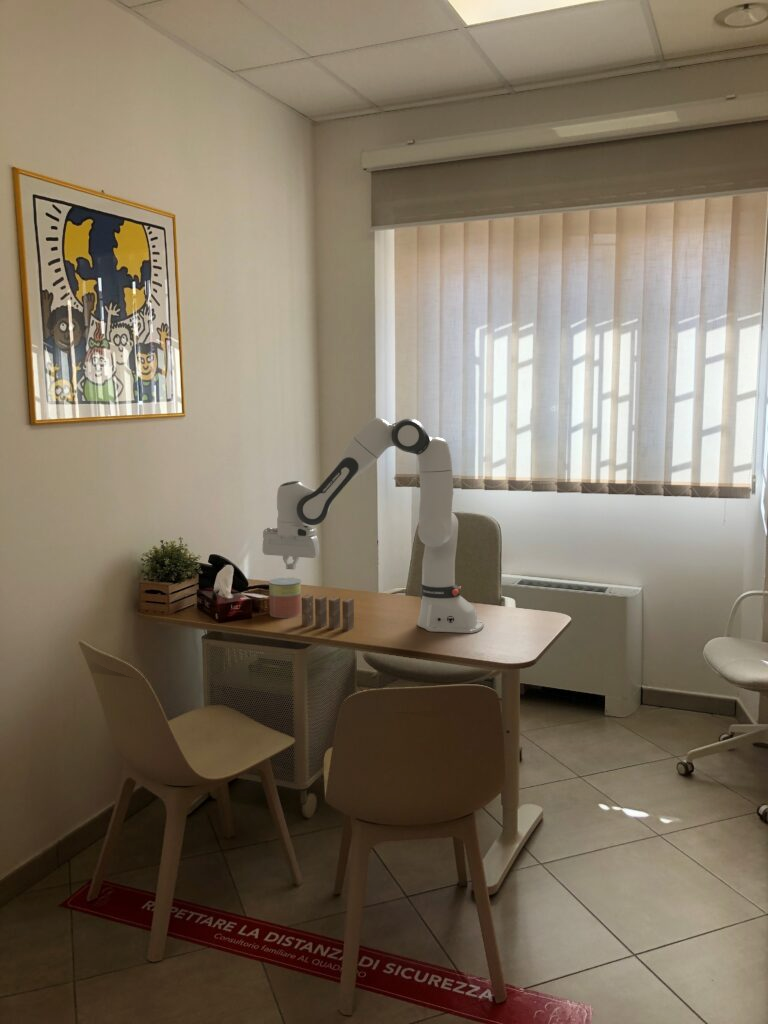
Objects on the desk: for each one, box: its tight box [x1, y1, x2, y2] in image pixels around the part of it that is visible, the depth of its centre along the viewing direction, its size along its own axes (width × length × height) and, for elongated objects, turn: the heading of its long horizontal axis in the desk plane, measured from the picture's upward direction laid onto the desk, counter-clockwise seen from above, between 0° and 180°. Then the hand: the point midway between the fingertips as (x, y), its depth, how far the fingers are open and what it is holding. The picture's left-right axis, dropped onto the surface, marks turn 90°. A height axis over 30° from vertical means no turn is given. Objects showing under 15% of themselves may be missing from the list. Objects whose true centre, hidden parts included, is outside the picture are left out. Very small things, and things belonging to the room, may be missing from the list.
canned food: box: [268, 577, 302, 619], centre depth 308 cm, size 11×11×12 cm
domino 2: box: [314, 595, 328, 629], centre depth 291 cm, size 2×5×10 cm, turn 160°
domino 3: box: [328, 596, 341, 630], centre depth 290 cm, size 2×5×10 cm, turn 160°
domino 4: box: [341, 597, 355, 632], centre depth 288 cm, size 2×5×10 cm, turn 160°
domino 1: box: [301, 594, 314, 628], centre depth 293 cm, size 2×5×10 cm, turn 160°
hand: (290, 569), depth 293 cm, fingers closed
